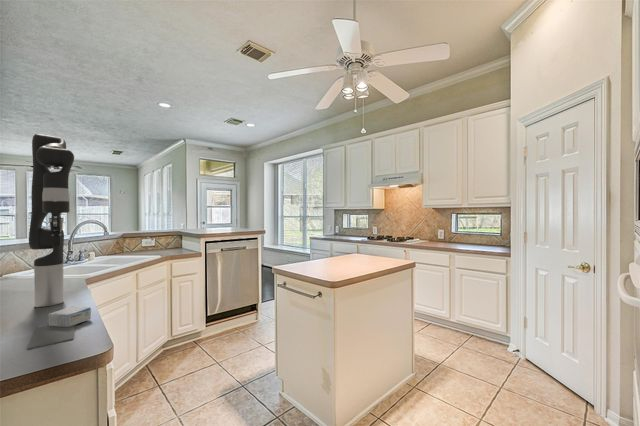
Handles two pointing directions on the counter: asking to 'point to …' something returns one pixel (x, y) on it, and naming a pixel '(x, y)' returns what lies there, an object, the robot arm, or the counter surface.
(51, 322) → the medicine box
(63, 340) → the mat
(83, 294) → the counter surface
